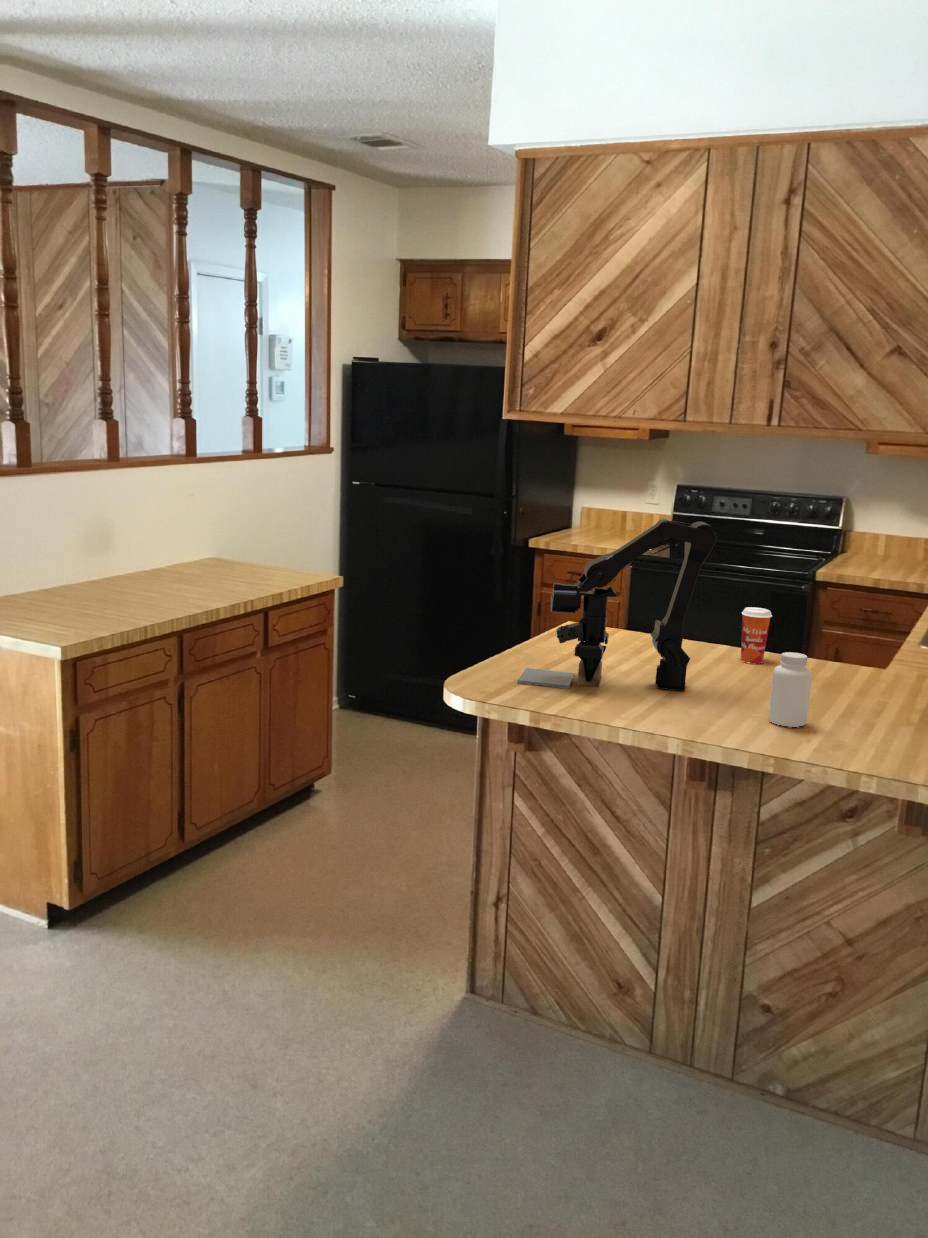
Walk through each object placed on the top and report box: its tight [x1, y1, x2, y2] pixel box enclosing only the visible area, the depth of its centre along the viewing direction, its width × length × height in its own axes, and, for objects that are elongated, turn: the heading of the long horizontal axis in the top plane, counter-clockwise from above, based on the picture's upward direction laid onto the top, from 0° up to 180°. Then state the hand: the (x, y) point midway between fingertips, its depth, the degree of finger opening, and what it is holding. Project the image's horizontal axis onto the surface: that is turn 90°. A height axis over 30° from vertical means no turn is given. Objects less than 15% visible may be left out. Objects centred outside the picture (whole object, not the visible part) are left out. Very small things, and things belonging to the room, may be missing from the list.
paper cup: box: [740, 606, 773, 663], centre depth 282 cm, size 8×8×14 cm
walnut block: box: [576, 659, 603, 688], centre depth 254 cm, size 5×5×5 cm
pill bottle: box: [768, 651, 813, 728], centre depth 228 cm, size 8×8×15 cm
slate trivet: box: [517, 667, 576, 690], centre depth 255 cm, size 12×12×1 cm
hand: (589, 678), depth 254 cm, fingers closed on walnut block, 5 cm apart
